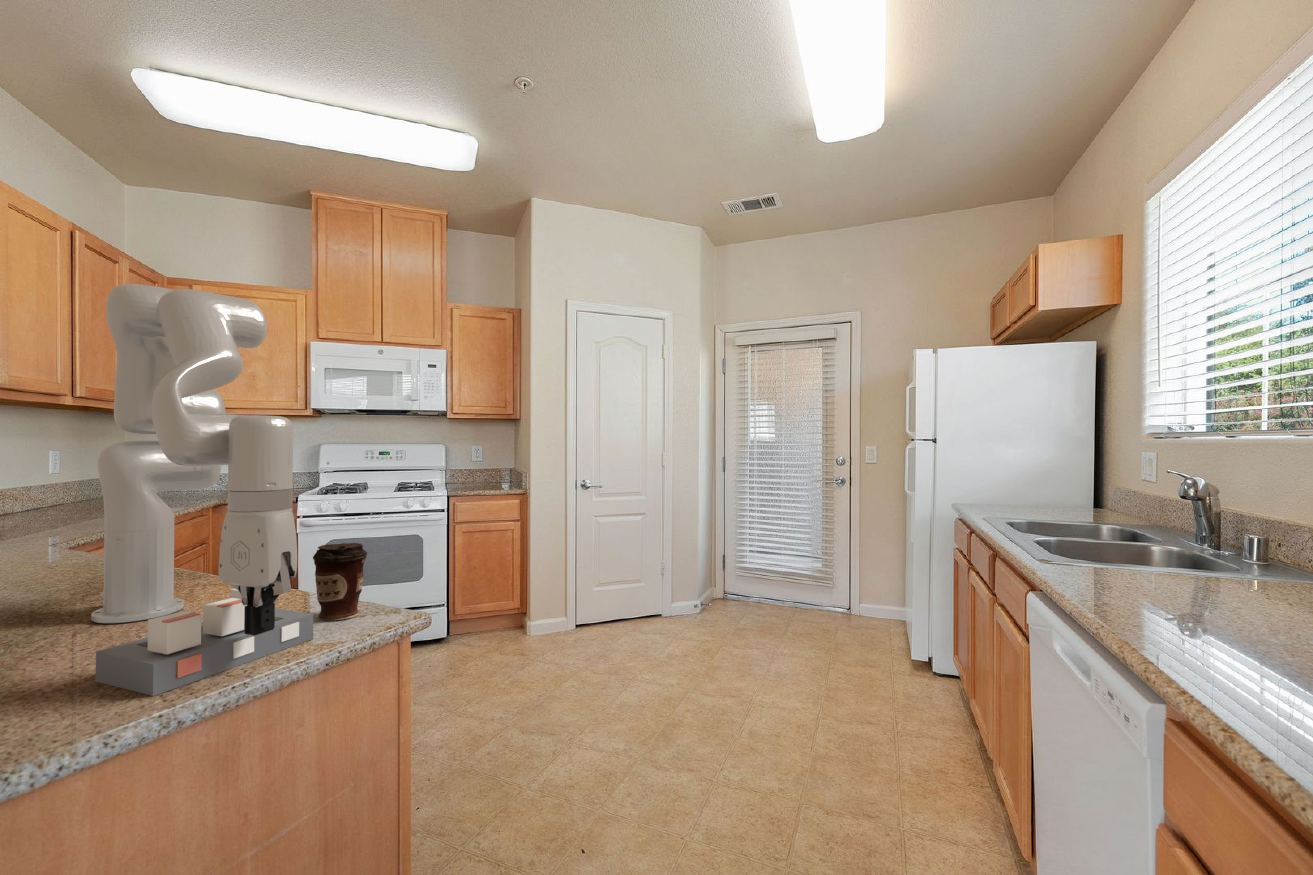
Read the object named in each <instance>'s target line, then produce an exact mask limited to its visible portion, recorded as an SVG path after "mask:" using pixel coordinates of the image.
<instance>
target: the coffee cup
mask: <svg viewBox="0 0 1313 875" xmlns="http://www.w3.org/2000/svg"><path fill="white" fill-rule="evenodd" d="M367 556H368V552H367V551H366V550H364V545H363V544H362V543H359V542H357V543H356V542H348V543H347V542H343V543H333V544H332V543H328V544H322V545H319V546H318V547H317V550H316V552H315V553H314V555H313V556H312V559H313V564H314V565H315V571H314V575H315V587H316V595H317V596H316V598H317V602H318V604H319V605H320V612H319V614H318V618H319V619H320V620H322V621H323V620H324V621H338V620H339V621H342V620H347V619H348V620H349V619H352V618H356V617H358V616H359V615H360V611H359V610H358V604H359V600H360V595H361V593H362V590H363V589H362V587H363V581H364V565H365V561H366V559H367Z"/></svg>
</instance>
